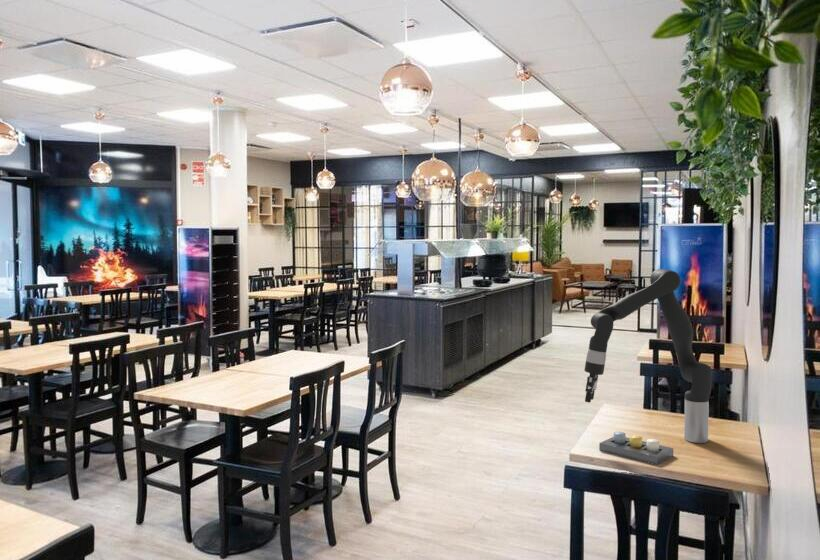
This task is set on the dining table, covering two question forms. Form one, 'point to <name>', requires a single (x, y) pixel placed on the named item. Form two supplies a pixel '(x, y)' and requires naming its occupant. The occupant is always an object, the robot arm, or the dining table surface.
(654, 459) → the panel
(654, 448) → the button ivory
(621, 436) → the button blue
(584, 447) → the dining table surface
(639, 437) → the button mustard
